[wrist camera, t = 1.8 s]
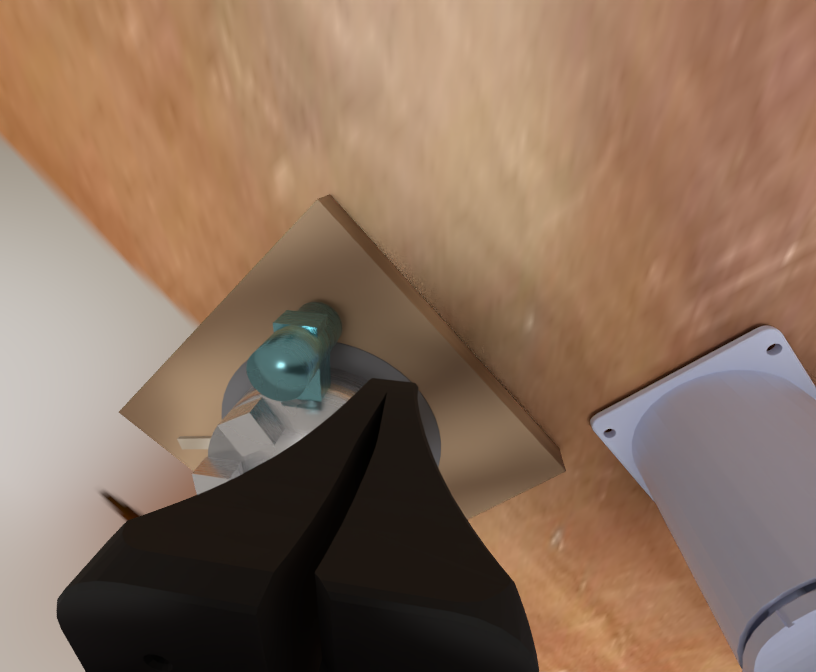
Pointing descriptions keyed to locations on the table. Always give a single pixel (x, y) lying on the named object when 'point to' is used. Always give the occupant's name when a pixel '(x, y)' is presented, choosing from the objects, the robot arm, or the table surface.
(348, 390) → the rotary knob
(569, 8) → the table surface
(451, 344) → the dial board
